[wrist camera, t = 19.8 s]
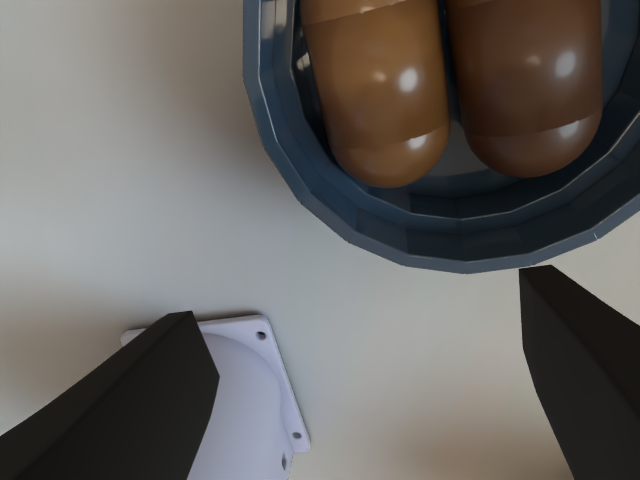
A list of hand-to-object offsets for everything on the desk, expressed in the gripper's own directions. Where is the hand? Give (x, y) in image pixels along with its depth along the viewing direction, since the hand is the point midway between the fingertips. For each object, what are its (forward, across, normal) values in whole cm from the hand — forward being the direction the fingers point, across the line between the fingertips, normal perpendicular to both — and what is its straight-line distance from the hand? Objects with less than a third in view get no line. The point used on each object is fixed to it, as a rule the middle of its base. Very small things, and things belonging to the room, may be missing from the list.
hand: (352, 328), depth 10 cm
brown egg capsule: (+9, -2, -4) cm, 10 cm away
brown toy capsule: (+9, -6, -4) cm, 12 cm away
